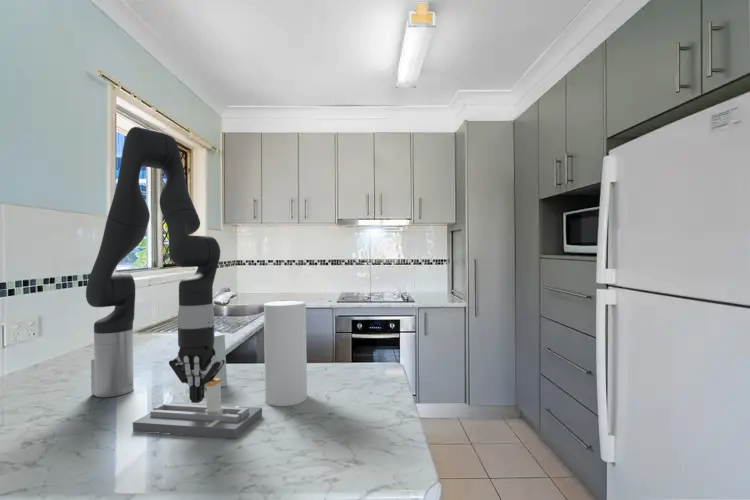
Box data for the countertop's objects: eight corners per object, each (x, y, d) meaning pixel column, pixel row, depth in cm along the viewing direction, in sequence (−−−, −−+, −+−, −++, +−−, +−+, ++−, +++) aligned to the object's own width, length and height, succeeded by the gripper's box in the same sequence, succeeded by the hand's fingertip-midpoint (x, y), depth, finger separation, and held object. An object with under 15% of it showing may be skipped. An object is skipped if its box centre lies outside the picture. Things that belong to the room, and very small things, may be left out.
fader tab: (203, 417, 91) (203, 382, 91) (212, 411, 94) (212, 378, 94) (216, 418, 90) (215, 383, 91) (224, 412, 94) (224, 378, 94)
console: (132, 431, 89) (132, 415, 89) (170, 410, 101) (170, 396, 101) (235, 438, 85) (235, 422, 85) (262, 416, 97) (261, 401, 97)
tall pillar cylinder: (256, 403, 105) (255, 304, 106) (280, 390, 115) (279, 300, 115) (292, 408, 101) (291, 306, 102) (314, 394, 111) (313, 301, 112)
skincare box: (227, 386, 119) (226, 334, 119) (205, 390, 116) (204, 337, 116) (220, 379, 126) (219, 330, 126) (199, 383, 123) (198, 333, 123)
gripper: (158, 326, 91) (159, 406, 91) (213, 327, 88) (214, 409, 88) (180, 321, 98) (181, 394, 98) (232, 322, 96) (233, 397, 95)
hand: (197, 401), depth 93 cm, fingers closed
